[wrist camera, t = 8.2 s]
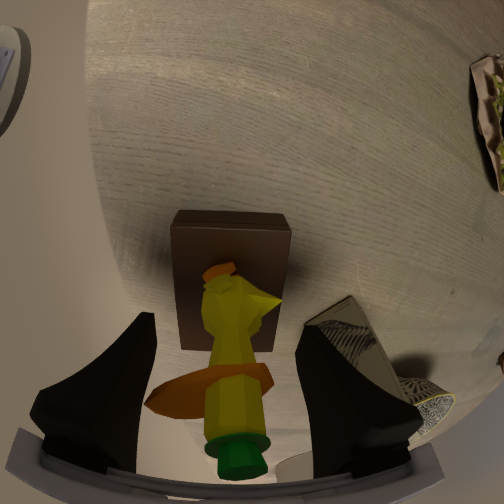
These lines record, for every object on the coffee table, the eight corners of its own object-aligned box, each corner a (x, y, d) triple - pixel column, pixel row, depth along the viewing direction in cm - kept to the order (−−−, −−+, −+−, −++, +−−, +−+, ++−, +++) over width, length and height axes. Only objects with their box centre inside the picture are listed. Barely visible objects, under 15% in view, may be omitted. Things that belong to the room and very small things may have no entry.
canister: (270, 459, 38) (281, 552, 21) (356, 439, 38) (382, 528, 20) (280, 477, 46) (290, 548, 28) (349, 461, 45) (367, 531, 27)
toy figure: (188, 316, 18) (167, 491, 7) (159, 276, 16) (102, 462, 6) (281, 278, 17) (334, 468, 6) (258, 231, 16) (306, 441, 5)
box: (351, 292, 22) (421, 421, 10) (368, 321, 24) (427, 434, 12) (299, 325, 23) (337, 462, 12) (321, 349, 25) (359, 469, 13)
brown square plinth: (179, 209, 18) (169, 226, 15) (283, 213, 18) (292, 230, 16) (185, 324, 22) (181, 350, 20) (268, 326, 23) (272, 352, 20)
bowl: (341, 365, 26) (363, 422, 20) (448, 339, 27) (476, 379, 20) (318, 429, 34) (328, 471, 27) (407, 406, 34) (423, 440, 28)
